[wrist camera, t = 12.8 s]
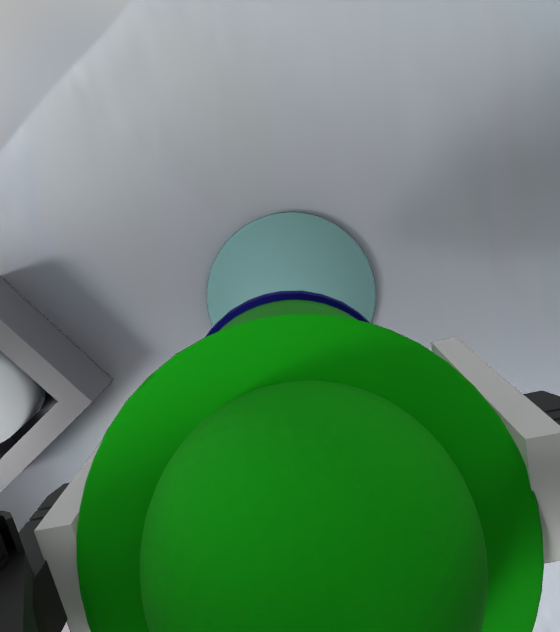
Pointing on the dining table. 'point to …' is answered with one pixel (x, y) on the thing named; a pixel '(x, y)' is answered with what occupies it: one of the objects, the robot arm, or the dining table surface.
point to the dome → (17, 397)
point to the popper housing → (43, 377)
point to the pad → (290, 264)
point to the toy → (308, 488)
